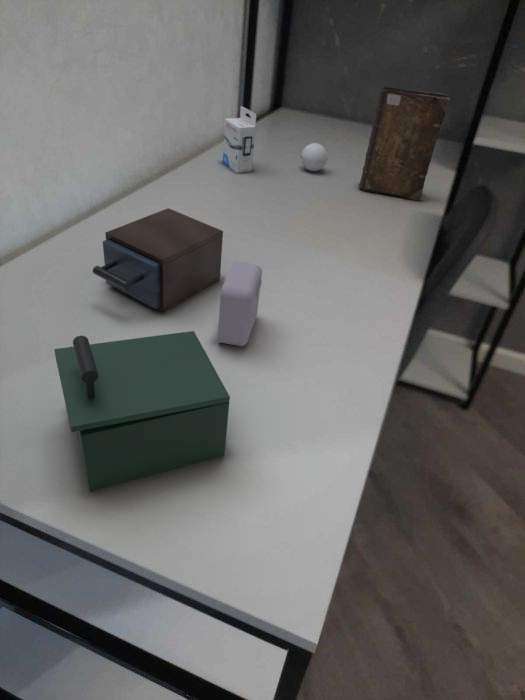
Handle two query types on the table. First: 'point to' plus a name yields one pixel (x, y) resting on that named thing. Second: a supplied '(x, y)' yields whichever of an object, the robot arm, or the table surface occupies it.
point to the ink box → (239, 141)
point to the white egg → (314, 157)
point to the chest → (152, 445)
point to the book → (402, 141)
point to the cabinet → (175, 252)
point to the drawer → (131, 273)
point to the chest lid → (136, 379)
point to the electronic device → (239, 303)
